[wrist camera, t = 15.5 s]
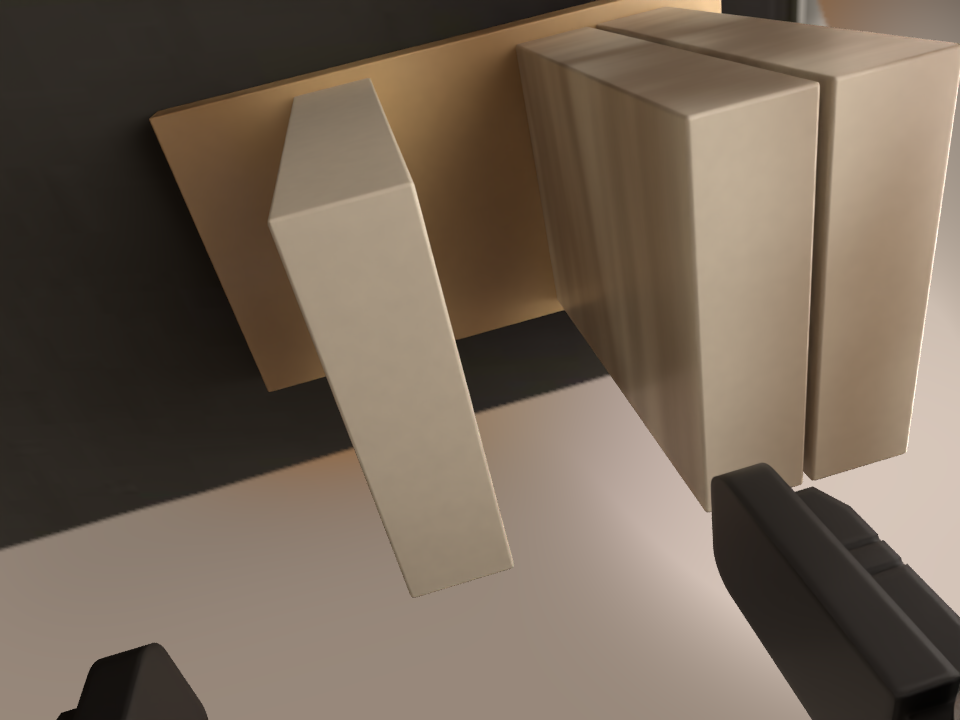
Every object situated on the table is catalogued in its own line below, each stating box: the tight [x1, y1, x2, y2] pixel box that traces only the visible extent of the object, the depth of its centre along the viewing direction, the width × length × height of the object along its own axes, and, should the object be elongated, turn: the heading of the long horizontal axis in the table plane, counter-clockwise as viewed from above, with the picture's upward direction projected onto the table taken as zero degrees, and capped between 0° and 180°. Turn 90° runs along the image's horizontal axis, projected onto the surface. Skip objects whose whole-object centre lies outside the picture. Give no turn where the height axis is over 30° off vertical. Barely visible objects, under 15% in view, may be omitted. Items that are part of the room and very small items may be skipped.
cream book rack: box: [149, 0, 960, 512], centre depth 19 cm, size 18×10×13 cm, turn 102°
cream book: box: [268, 78, 514, 598], centre depth 19 cm, size 2×9×12 cm, turn 12°
